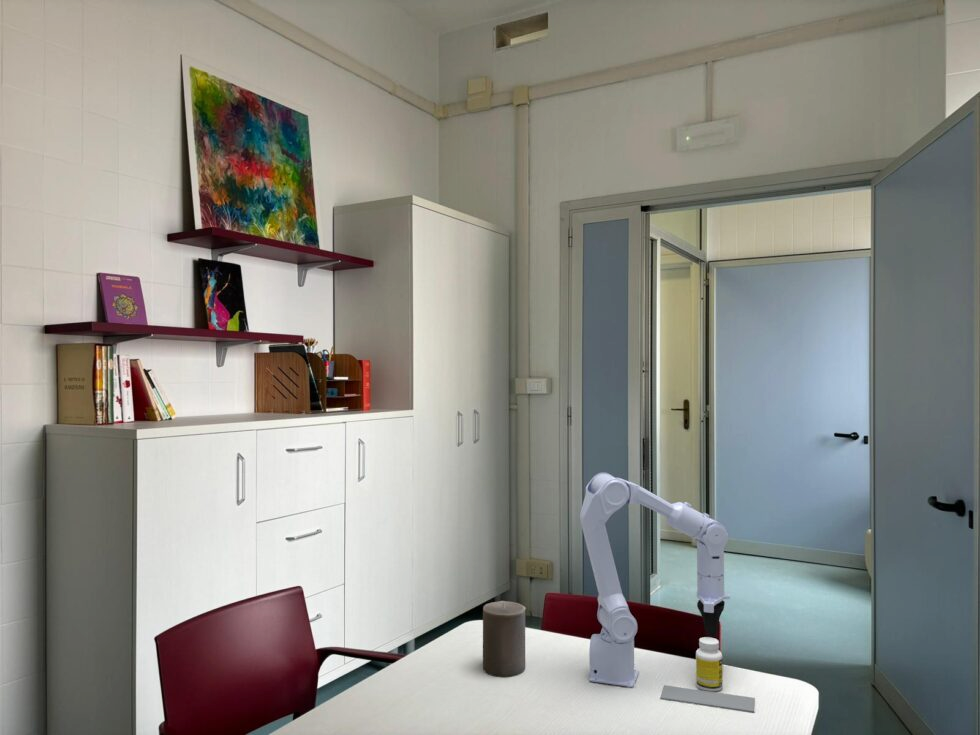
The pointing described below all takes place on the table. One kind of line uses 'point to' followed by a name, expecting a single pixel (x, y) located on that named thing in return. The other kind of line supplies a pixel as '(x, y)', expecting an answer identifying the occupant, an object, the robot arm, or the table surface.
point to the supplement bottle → (709, 665)
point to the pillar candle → (504, 639)
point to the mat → (708, 698)
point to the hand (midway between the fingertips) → (711, 634)
